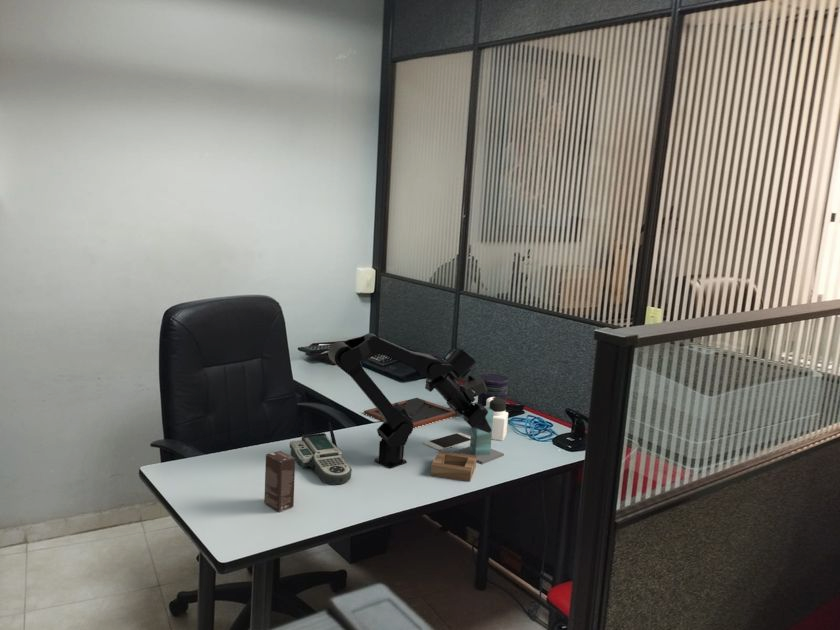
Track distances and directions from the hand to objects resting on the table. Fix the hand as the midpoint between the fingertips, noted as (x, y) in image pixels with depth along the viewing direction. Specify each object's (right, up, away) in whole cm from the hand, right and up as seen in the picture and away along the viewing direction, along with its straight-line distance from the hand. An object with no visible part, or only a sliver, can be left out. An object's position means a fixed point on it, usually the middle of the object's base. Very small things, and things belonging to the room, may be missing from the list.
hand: (484, 426), depth 194 cm
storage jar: (+5, -4, +31) cm, 31 cm away
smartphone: (-9, -7, +10) cm, 15 cm away
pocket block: (-9, -10, -12) cm, 18 cm away
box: (-51, -12, -37) cm, 64 cm away
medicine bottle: (+5, -6, +18) cm, 19 cm away
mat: (-1, -8, +1) cm, 9 cm away
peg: (-1, -8, +1) cm, 8 cm away
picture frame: (-21, -2, +33) cm, 40 cm away
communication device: (-44, -9, -14) cm, 47 cm away
